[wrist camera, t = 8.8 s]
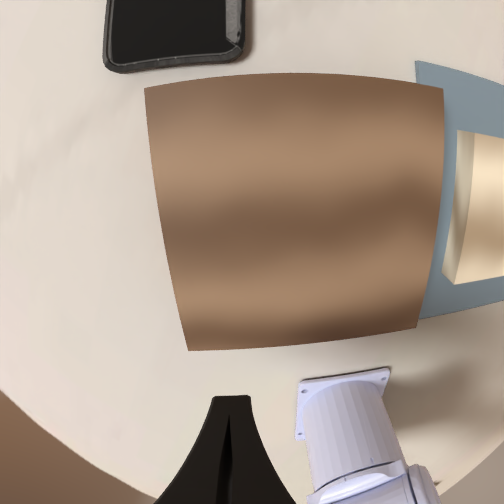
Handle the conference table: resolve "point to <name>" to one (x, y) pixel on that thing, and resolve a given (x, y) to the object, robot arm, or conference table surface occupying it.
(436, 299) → the rubber mat
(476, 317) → the conference table surface
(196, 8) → the phone
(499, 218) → the birch block
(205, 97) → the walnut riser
